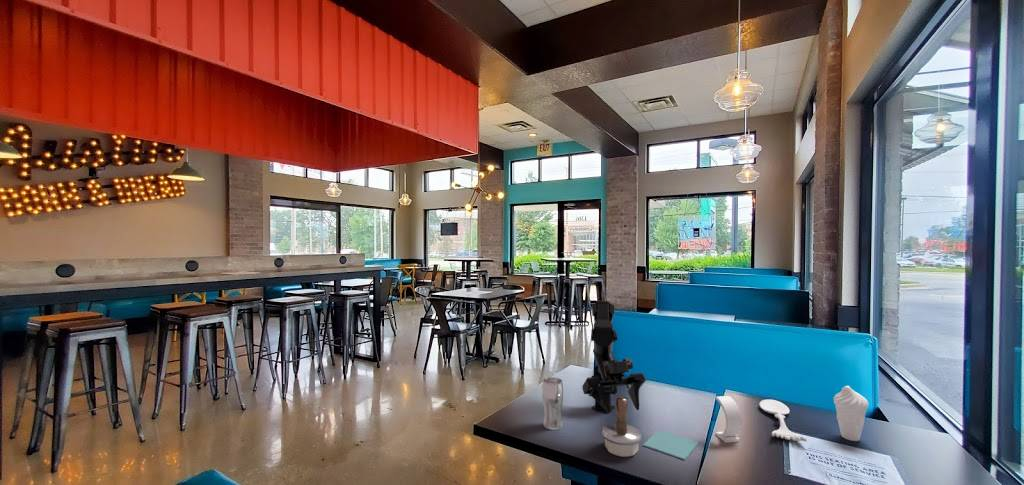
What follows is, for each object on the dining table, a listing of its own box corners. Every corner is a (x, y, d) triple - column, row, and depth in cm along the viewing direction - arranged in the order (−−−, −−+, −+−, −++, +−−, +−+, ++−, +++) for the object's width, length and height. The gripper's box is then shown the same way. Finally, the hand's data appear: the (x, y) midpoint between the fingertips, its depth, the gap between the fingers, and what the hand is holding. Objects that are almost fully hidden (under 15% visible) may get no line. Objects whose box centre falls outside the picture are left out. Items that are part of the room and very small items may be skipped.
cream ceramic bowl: (614, 438, 126) (614, 425, 125) (642, 448, 120) (642, 434, 120) (600, 450, 119) (600, 436, 119) (628, 460, 113) (628, 446, 113)
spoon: (771, 444, 122) (771, 432, 122) (757, 404, 151) (757, 394, 151) (808, 450, 118) (808, 438, 118) (786, 408, 148) (786, 398, 148)
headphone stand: (729, 433, 128) (729, 395, 128) (742, 443, 122) (742, 403, 122) (715, 434, 128) (715, 396, 128) (727, 444, 122) (727, 404, 122)
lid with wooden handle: (613, 423, 127) (613, 388, 127) (647, 434, 120) (647, 397, 120) (595, 436, 119) (595, 399, 119) (630, 449, 112) (630, 409, 111)
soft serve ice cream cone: (860, 433, 128) (860, 382, 128) (874, 446, 120) (874, 392, 120) (828, 429, 130) (828, 380, 130) (839, 442, 123) (840, 389, 122)
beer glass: (562, 431, 130) (562, 385, 130) (540, 429, 132) (540, 383, 132) (564, 421, 137) (563, 377, 137) (543, 420, 139) (543, 376, 138)
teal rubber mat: (659, 431, 130) (659, 430, 130) (698, 443, 122) (698, 442, 122) (643, 445, 121) (643, 444, 121) (684, 460, 113) (684, 458, 113)
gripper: (586, 351, 121) (602, 402, 110) (642, 346, 125) (664, 396, 114) (575, 369, 128) (590, 419, 118) (629, 364, 133) (648, 412, 122)
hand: (623, 411), depth 118 cm, fingers open, 9 cm apart
